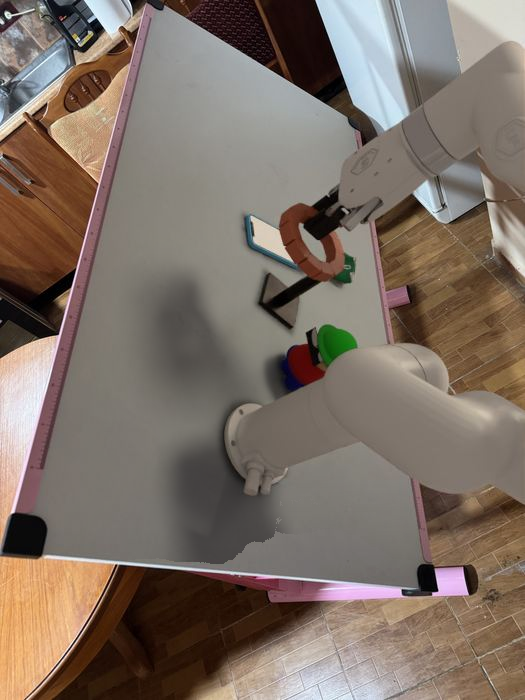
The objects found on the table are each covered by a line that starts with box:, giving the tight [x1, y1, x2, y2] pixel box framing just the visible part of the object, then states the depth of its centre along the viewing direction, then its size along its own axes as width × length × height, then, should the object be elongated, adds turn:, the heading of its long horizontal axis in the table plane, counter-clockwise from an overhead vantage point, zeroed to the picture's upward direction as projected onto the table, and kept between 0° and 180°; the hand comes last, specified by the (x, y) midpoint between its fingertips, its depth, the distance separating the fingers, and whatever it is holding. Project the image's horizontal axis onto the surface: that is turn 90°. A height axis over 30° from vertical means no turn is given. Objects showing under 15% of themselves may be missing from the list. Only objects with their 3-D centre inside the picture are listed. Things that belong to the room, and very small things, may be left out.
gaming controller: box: [330, 251, 358, 285], centre depth 121 cm, size 9×4×6 cm
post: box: [258, 272, 324, 330], centre depth 99 cm, size 8×8×14 cm
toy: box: [280, 323, 359, 392], centre depth 92 cm, size 9×9×15 cm
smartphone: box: [245, 213, 303, 272], centre depth 110 cm, size 8×1×15 cm
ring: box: [278, 202, 345, 283], centre depth 72 cm, size 10×10×2 cm
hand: (312, 225), depth 75 cm, fingers closed on ring, 2 cm apart
